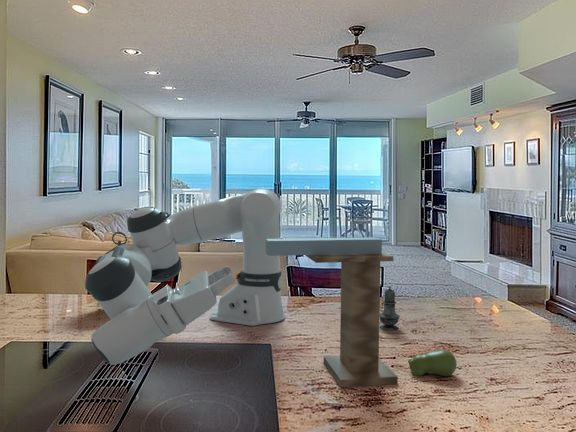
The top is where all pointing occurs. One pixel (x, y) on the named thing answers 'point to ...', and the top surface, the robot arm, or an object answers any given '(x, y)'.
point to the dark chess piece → (389, 311)
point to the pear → (433, 363)
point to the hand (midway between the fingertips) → (231, 272)
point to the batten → (323, 246)
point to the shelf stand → (359, 321)
